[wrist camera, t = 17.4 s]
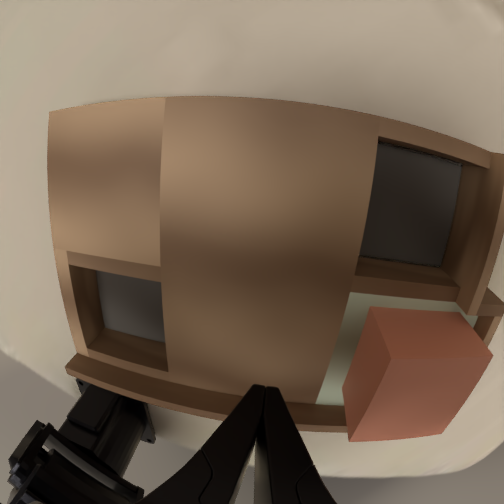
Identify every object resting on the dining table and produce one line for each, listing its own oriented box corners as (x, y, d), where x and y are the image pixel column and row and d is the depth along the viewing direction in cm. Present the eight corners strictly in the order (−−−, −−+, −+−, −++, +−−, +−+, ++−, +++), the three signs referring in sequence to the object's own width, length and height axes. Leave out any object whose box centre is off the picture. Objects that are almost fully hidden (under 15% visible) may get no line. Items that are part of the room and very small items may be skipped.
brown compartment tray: (424, 384, 16) (441, 426, 12) (97, 339, 18) (67, 373, 14) (498, 162, 11) (545, 173, 7) (78, 112, 13) (28, 111, 9)
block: (423, 387, 13) (441, 433, 10) (341, 388, 13) (348, 441, 10) (459, 312, 11) (493, 355, 8) (369, 306, 12) (391, 358, 8)
